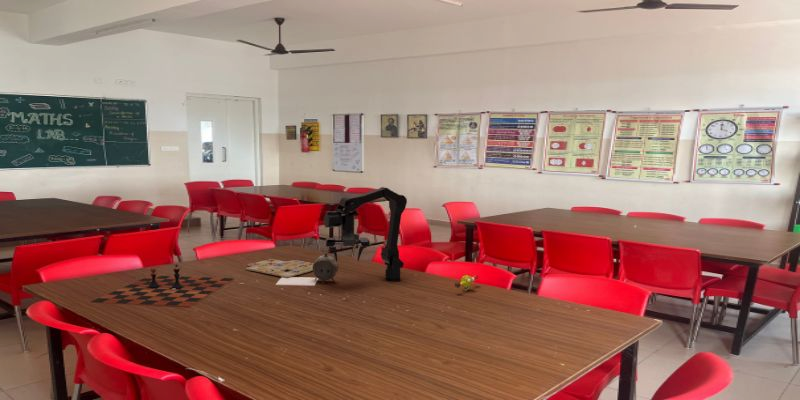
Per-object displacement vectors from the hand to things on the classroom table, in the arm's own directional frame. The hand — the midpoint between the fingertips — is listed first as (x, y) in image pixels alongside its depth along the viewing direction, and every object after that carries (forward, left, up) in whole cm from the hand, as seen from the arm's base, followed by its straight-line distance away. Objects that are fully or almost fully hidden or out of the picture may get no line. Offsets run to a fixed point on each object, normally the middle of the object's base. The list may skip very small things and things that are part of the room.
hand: (347, 261), depth 222 cm
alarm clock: (+11, -6, -11) cm, 16 cm away
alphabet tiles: (+35, -30, -11) cm, 47 cm away
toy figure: (-52, +3, -11) cm, 54 cm away
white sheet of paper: (+23, -6, -11) cm, 26 cm away
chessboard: (+74, +10, -12) cm, 75 cm away
